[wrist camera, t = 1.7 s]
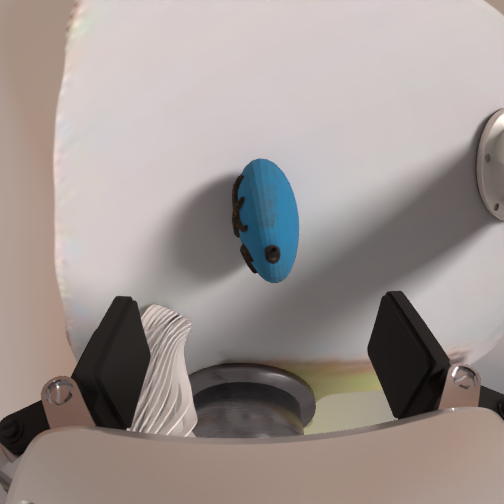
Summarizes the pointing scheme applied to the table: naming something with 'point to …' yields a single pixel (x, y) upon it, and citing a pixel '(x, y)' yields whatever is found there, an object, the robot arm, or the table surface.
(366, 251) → the table surface
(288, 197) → the ornament
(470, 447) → the robot arm
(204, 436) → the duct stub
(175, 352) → the shell sculpture
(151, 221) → the table surface
